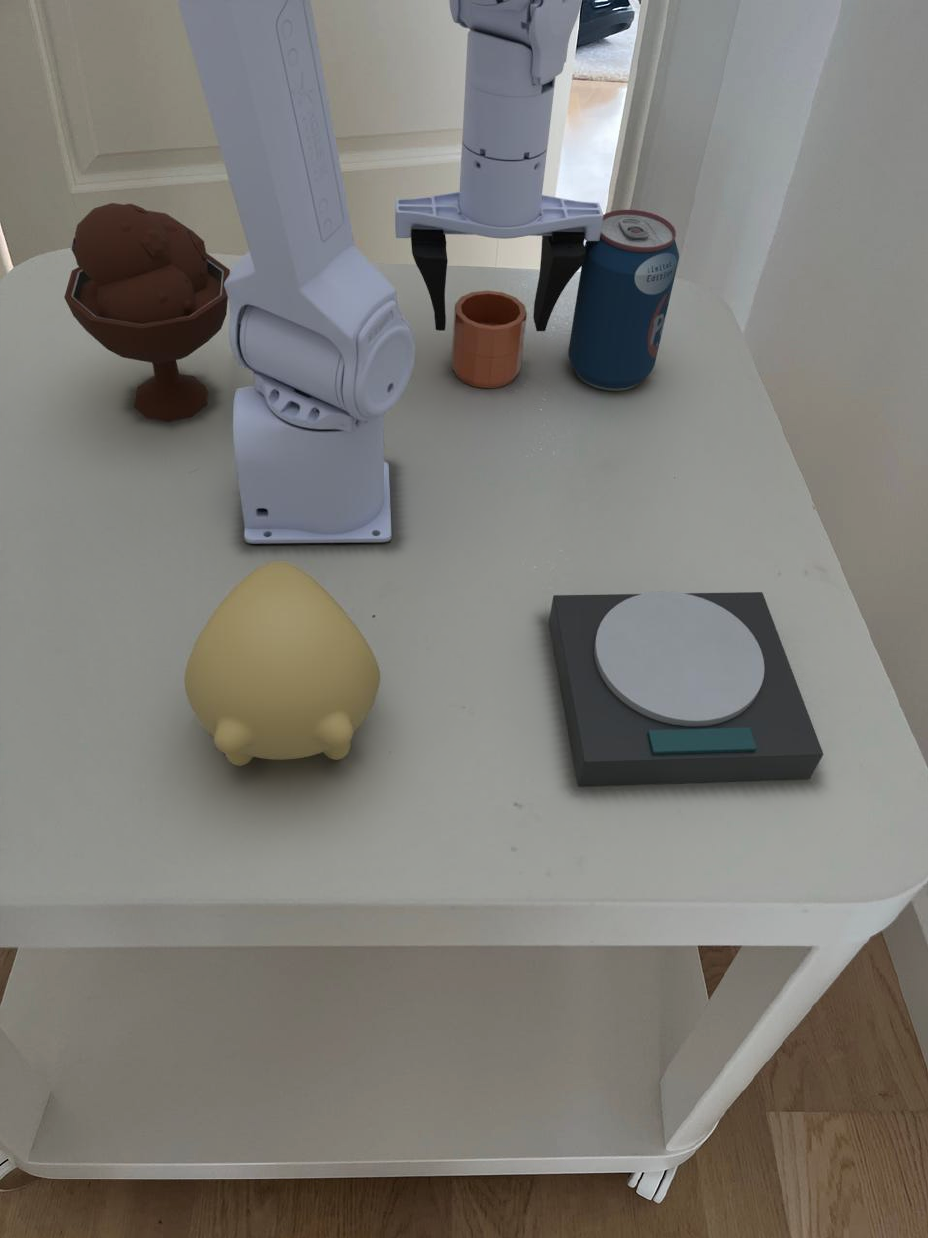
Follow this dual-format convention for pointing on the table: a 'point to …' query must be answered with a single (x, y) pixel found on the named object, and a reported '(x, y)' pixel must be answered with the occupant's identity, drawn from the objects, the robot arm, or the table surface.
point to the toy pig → (281, 670)
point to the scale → (678, 690)
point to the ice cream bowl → (148, 299)
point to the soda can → (623, 299)
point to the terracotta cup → (488, 338)
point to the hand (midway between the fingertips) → (489, 323)
